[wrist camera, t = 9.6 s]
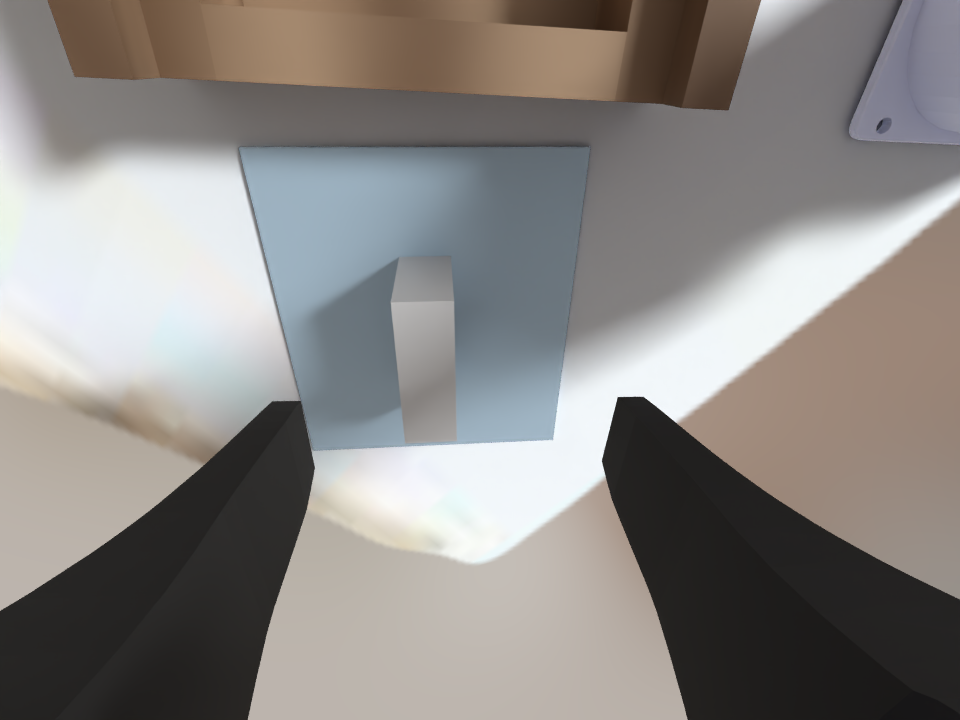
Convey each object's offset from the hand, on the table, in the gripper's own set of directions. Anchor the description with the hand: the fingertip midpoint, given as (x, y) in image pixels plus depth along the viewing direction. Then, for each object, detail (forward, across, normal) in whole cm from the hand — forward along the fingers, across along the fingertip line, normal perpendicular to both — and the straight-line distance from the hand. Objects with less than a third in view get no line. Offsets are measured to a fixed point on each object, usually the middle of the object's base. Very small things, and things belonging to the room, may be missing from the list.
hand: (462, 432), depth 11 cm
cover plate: (+10, +1, +2) cm, 10 cm away
